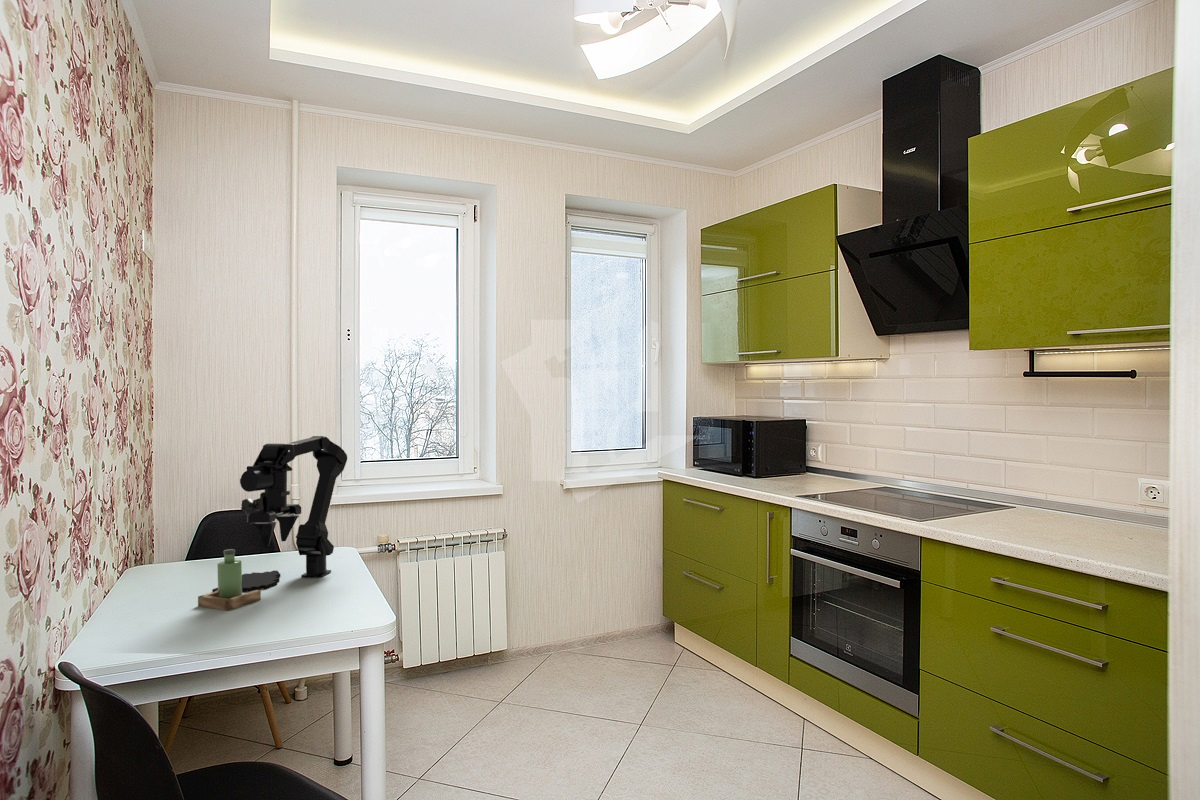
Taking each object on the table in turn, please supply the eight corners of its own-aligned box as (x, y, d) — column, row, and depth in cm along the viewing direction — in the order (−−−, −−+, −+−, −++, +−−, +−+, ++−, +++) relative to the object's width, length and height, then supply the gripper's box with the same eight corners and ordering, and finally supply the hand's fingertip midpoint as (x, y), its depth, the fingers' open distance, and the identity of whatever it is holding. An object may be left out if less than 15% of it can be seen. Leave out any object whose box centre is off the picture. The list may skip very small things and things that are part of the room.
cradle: (231, 595, 190) (231, 586, 190) (260, 599, 186) (260, 590, 186) (198, 606, 181) (197, 596, 181) (228, 610, 177) (228, 600, 177)
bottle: (238, 596, 187) (237, 546, 187) (245, 600, 183) (244, 550, 183) (215, 600, 183) (214, 550, 183) (221, 604, 179) (220, 553, 179)
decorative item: (242, 569, 215) (300, 571, 211) (242, 574, 215) (300, 576, 211) (184, 589, 192) (247, 593, 188) (184, 595, 192) (247, 598, 188)
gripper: (265, 485, 205) (265, 538, 204) (228, 491, 186) (227, 550, 186) (302, 485, 204) (302, 538, 204) (268, 491, 185) (268, 550, 185)
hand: (275, 544), depth 194 cm, fingers open, 9 cm apart
